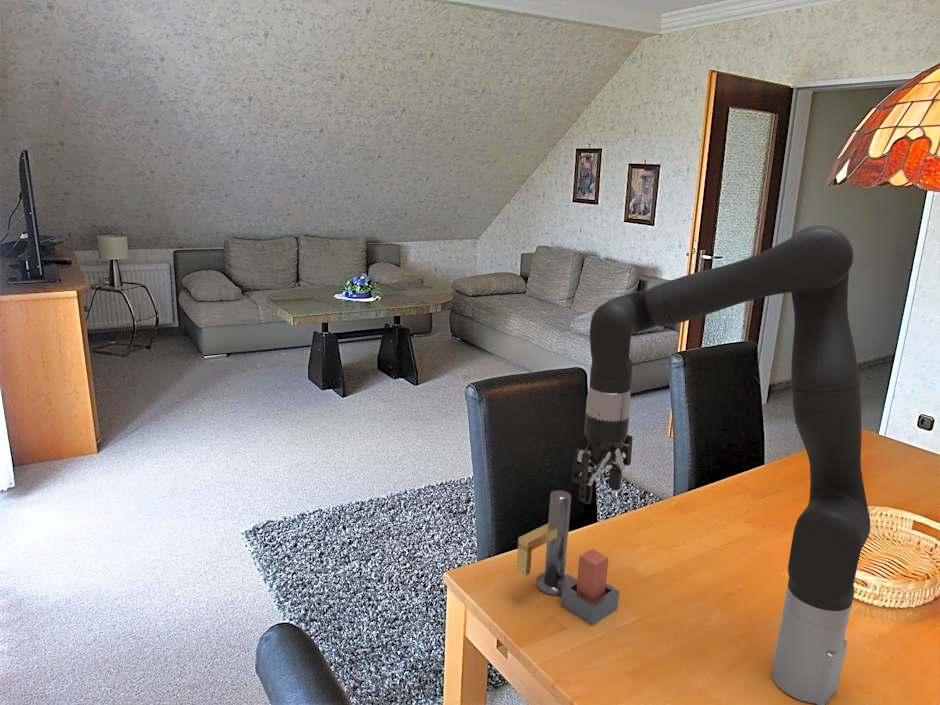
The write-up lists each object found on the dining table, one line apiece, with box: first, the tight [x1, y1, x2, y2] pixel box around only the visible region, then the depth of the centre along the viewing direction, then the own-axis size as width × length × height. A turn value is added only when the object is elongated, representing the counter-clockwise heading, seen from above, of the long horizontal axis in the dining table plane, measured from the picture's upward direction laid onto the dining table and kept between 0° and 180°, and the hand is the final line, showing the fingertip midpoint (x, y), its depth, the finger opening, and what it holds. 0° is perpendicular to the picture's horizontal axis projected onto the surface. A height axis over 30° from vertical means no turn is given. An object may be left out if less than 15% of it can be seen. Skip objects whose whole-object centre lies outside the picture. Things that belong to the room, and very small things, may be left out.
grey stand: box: [516, 489, 620, 626], centre depth 127 cm, size 16×14×20 cm
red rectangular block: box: [576, 548, 609, 602], centre depth 128 cm, size 4×4×11 cm
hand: (599, 495), depth 123 cm, fingers open, 8 cm apart
